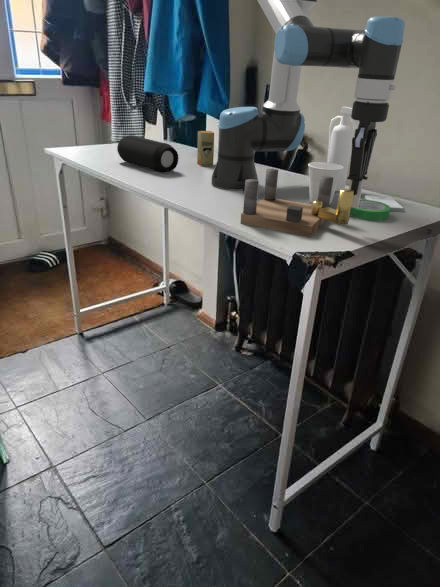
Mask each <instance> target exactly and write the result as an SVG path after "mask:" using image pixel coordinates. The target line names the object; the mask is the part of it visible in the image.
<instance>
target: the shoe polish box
mask: <svg viewBox="0 0 440 587" xmlns="http://www.w3.org/2000/svg"><path fill="white" fill-rule="evenodd" d="M214 149H215V132H213V131H211V130H197V151H196V152H197V156H196V157H197V159H196V160H197V161H196V162H197V165H198V166H200V167H214V153H215V152H214V151H215V150H214Z"/></svg>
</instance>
